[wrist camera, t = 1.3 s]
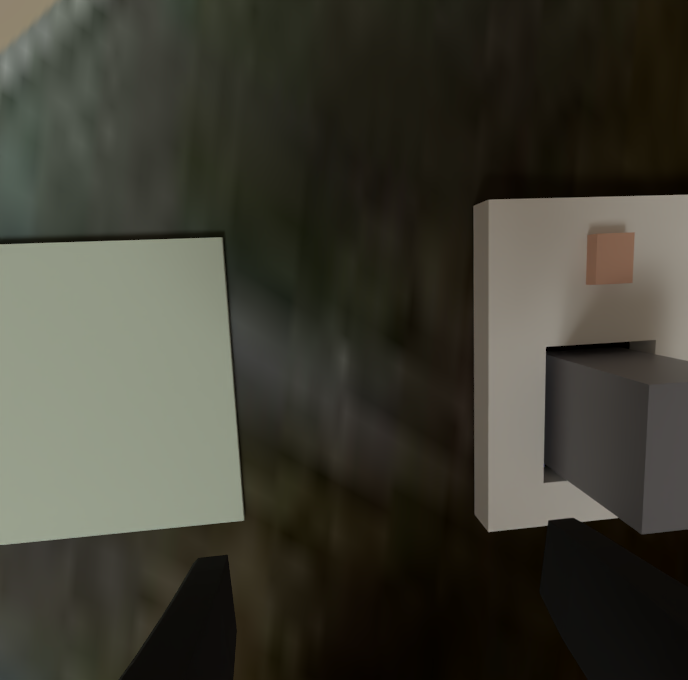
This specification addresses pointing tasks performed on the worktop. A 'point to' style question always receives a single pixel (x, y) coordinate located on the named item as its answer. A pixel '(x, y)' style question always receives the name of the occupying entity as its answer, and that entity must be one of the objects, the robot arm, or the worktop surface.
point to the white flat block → (562, 327)
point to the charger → (621, 432)
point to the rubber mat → (116, 389)
